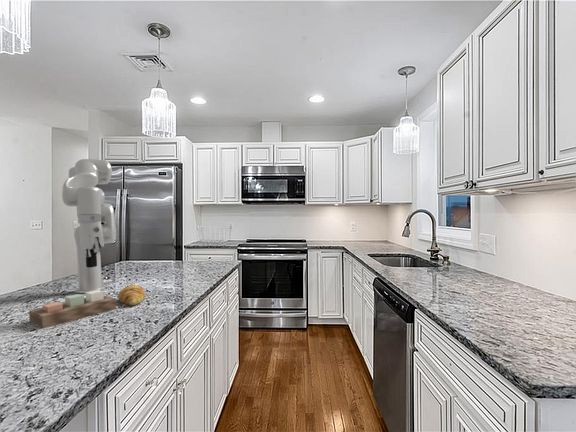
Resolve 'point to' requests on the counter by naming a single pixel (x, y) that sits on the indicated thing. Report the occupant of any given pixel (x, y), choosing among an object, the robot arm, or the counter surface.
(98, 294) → the cream cube
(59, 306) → the terracotta key
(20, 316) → the counter surface
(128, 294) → the croissant
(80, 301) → the sage key
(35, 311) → the wooden compartment tray
